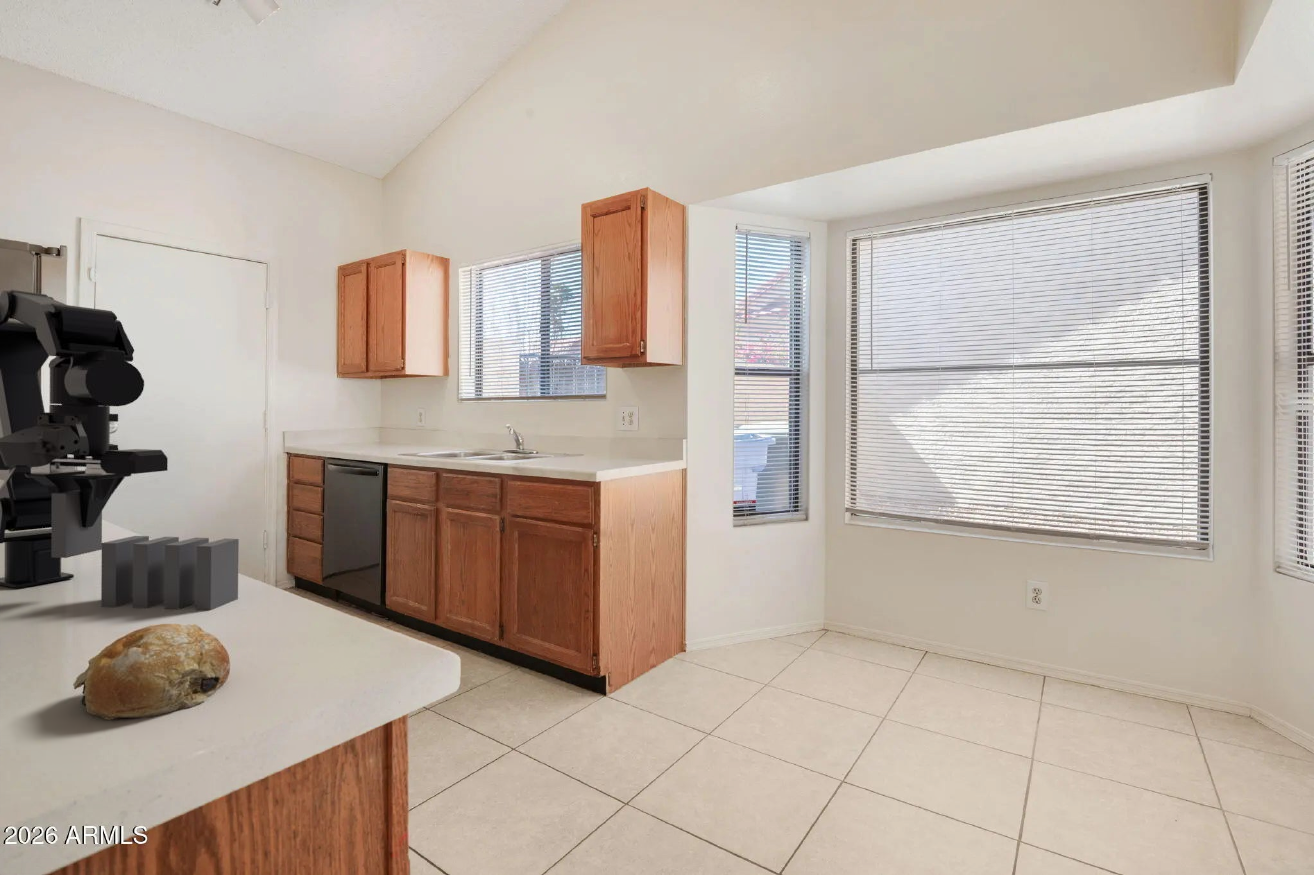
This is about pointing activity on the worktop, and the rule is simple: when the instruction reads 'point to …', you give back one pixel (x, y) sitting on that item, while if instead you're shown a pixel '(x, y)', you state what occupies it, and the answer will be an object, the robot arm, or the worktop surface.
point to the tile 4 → (181, 572)
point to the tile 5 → (217, 573)
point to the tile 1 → (72, 527)
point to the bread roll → (154, 672)
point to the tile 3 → (149, 572)
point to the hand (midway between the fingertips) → (79, 526)
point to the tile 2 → (118, 571)
